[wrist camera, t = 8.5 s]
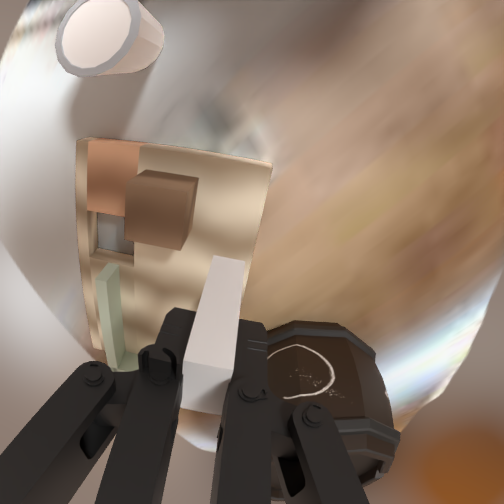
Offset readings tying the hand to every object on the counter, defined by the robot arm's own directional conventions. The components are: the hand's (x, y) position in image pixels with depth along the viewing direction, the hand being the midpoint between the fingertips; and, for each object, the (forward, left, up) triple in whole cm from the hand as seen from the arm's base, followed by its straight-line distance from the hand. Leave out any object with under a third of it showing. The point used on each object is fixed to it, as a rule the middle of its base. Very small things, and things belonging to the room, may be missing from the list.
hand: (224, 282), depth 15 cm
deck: (+9, -7, -13) cm, 17 cm away
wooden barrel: (+20, +11, -13) cm, 26 cm away
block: (+1, -6, -11) cm, 12 cm away
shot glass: (-12, -12, -13) cm, 22 cm away
